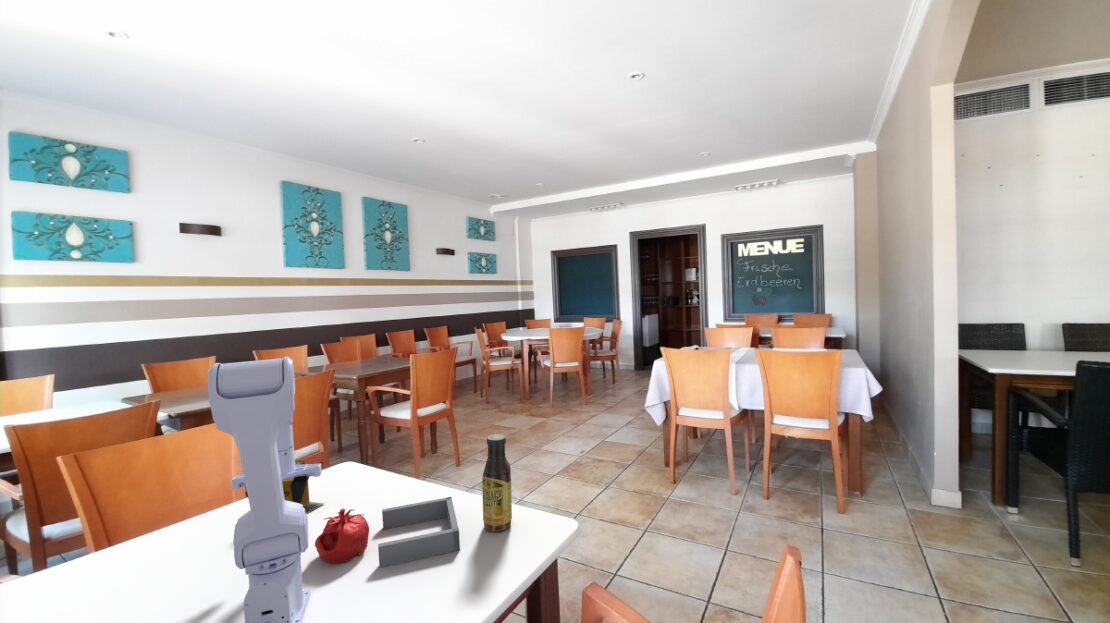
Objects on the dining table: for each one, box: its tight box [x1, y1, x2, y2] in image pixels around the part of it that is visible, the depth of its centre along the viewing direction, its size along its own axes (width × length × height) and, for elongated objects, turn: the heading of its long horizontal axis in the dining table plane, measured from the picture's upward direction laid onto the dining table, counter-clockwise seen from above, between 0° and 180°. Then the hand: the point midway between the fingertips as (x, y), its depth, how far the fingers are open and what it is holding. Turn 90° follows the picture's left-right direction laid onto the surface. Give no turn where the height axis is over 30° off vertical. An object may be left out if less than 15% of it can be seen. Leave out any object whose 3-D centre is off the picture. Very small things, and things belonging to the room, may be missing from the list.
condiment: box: [282, 459, 325, 514], centre depth 109 cm, size 7×8×12 cm
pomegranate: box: [314, 508, 370, 564], centre depth 89 cm, size 10×10×9 cm
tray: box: [377, 496, 461, 569], centre depth 94 cm, size 16×15×4 cm
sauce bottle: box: [481, 433, 513, 533], centre depth 97 cm, size 7×6×20 cm
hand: (281, 518), depth 86 cm, fingers open, 5 cm apart
